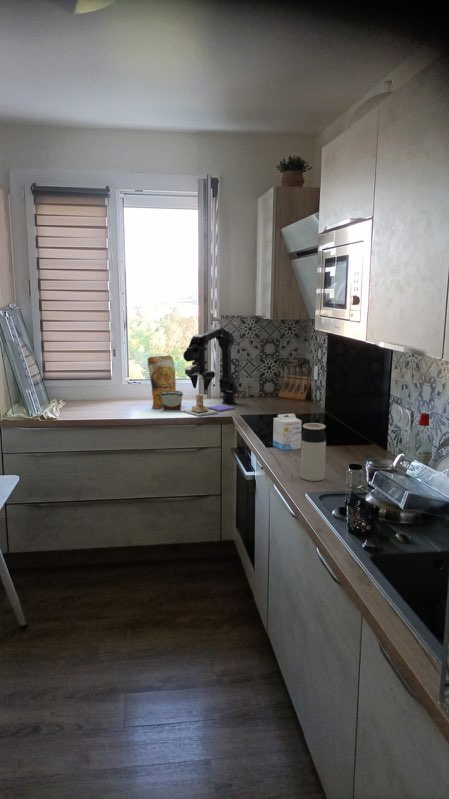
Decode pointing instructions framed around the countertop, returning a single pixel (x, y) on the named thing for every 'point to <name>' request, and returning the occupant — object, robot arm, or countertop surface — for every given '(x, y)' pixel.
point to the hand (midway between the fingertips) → (200, 389)
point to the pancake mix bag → (161, 377)
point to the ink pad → (220, 408)
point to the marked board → (200, 413)
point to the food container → (171, 400)
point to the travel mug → (313, 452)
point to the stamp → (199, 405)
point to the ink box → (287, 432)
